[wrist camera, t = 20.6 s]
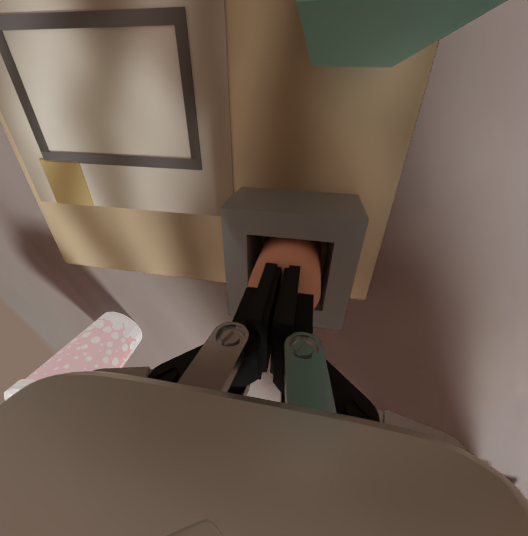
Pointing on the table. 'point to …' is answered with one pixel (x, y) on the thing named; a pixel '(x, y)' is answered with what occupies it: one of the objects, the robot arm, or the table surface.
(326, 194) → the button housing
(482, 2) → the green and white block
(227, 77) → the board
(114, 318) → the beverage cup
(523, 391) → the table surface
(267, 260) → the button
